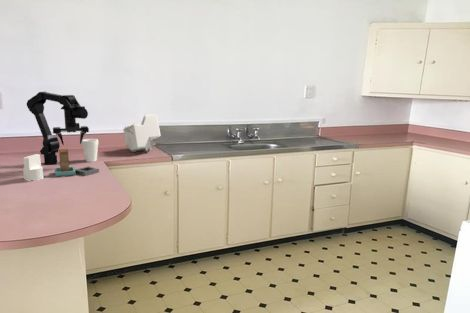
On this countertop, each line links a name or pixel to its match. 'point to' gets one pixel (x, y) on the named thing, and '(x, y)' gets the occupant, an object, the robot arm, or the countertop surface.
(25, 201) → the countertop surface
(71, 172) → the tray
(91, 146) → the foam cup
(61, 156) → the pin
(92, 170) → the grey square flat frame
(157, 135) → the white notched angular block
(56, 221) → the countertop surface
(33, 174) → the cylinder with rectangular tab
